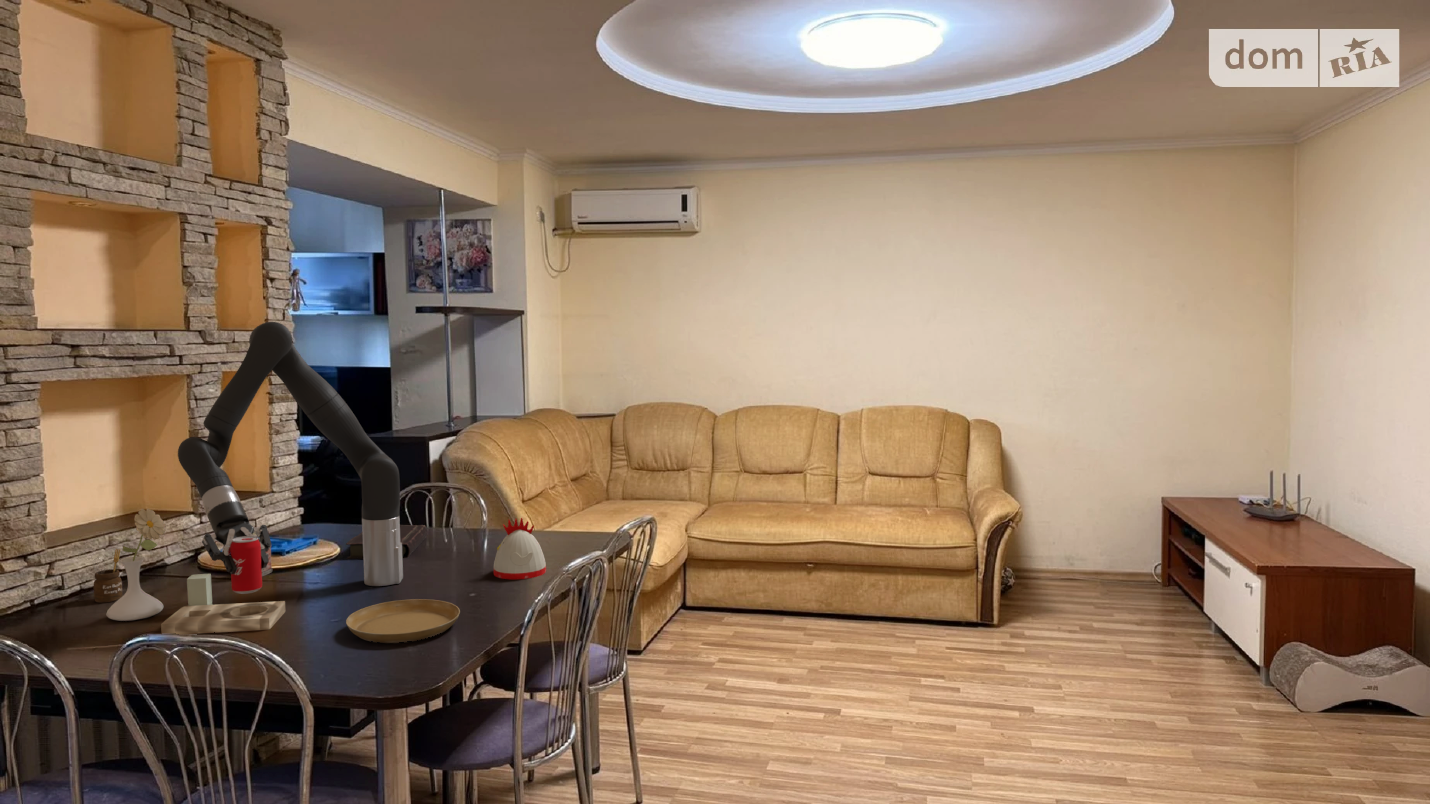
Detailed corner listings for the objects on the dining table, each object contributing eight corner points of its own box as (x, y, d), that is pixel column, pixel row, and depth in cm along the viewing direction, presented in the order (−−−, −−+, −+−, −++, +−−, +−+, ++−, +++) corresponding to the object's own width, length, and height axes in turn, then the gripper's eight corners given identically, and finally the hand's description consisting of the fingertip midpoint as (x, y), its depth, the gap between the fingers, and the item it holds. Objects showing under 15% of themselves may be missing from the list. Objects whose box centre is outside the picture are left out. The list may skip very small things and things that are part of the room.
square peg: (212, 610, 228) (210, 573, 227) (207, 616, 224) (205, 578, 223) (194, 612, 227) (192, 574, 226) (188, 617, 223) (186, 579, 222)
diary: (427, 539, 303) (427, 524, 302) (410, 559, 278) (409, 542, 277) (366, 540, 301) (366, 524, 300) (343, 560, 276) (342, 543, 276)
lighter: (256, 578, 256) (254, 541, 255) (244, 578, 256) (243, 541, 255) (275, 570, 263) (273, 534, 263) (264, 570, 264) (263, 534, 263)
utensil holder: (88, 601, 235) (85, 553, 234) (112, 594, 241) (110, 547, 240) (105, 604, 233) (102, 555, 232) (129, 597, 239) (126, 549, 238)
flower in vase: (122, 628, 215) (116, 518, 213) (96, 620, 221) (90, 512, 219) (181, 613, 226) (175, 508, 224) (154, 605, 232) (148, 503, 230)
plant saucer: (462, 641, 206) (461, 626, 206) (342, 653, 200) (341, 637, 199) (458, 608, 229) (458, 595, 229) (350, 618, 223) (350, 604, 222)
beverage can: (238, 587, 220) (236, 535, 219) (266, 586, 221) (264, 535, 220) (227, 595, 214) (224, 542, 213) (256, 594, 214) (254, 541, 213)
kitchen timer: (491, 568, 265) (490, 514, 264) (542, 564, 269) (541, 511, 268) (496, 581, 252) (495, 525, 251) (549, 577, 256) (548, 521, 255)
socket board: (285, 613, 225) (284, 600, 225) (269, 631, 213) (269, 618, 212) (184, 618, 222) (183, 606, 221) (161, 637, 209) (161, 623, 209)
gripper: (196, 504, 215) (221, 565, 208) (260, 495, 226) (286, 553, 219) (187, 524, 219) (211, 585, 212) (251, 514, 230) (276, 572, 223)
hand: (249, 568), depth 216 cm, fingers closed on beverage can, 6 cm apart
